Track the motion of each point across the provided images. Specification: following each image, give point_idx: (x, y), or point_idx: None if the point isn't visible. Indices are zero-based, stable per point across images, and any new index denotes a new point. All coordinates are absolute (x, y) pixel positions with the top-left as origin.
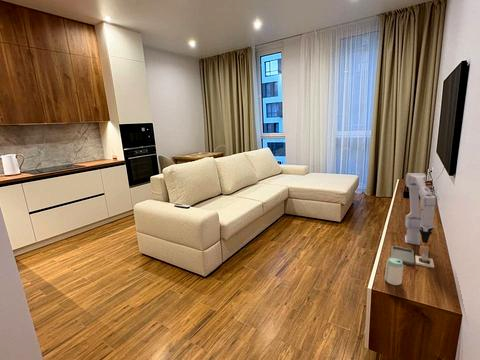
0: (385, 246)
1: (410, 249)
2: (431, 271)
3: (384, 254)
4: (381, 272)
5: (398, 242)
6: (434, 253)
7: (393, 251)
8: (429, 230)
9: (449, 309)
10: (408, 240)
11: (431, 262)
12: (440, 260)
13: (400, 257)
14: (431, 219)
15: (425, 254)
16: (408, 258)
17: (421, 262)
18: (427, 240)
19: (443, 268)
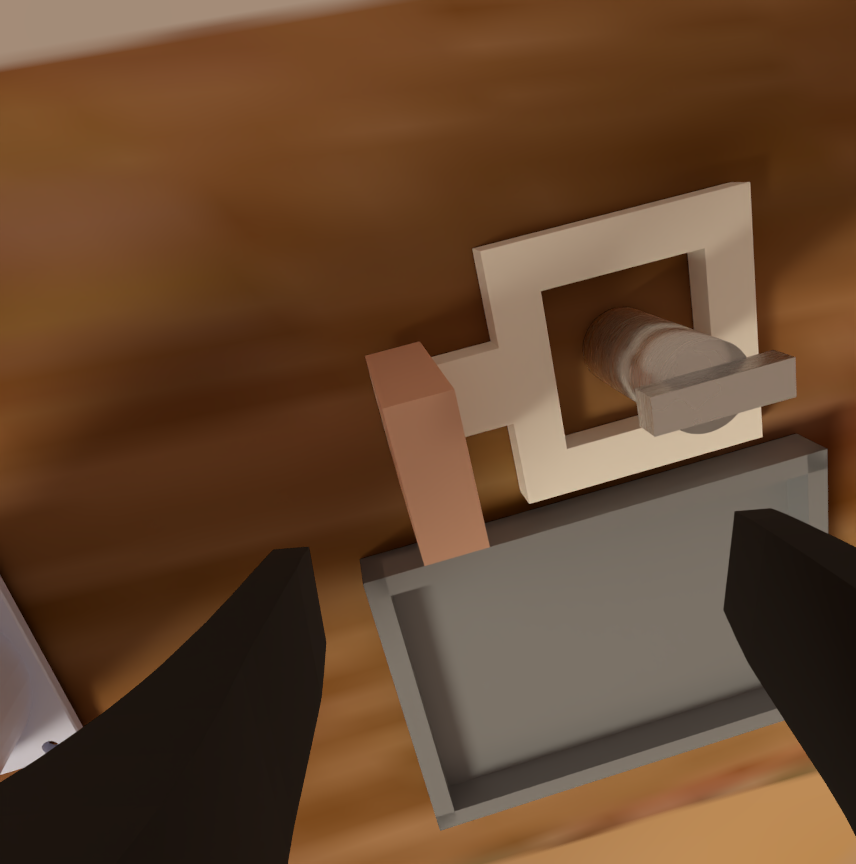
0: (448, 852)
1: (388, 616)
2: (848, 199)
3: (686, 777)
4: None
5: None
6: (130, 265)
7: (559, 743)
8: (188, 846)
9: None
10: (15, 742)
11: (629, 245)
12: (365, 123)
13: (682, 629)
14: None
15: (795, 386)
16: (651, 547)
17: None
18: (854, 558)
19: (652, 38)
